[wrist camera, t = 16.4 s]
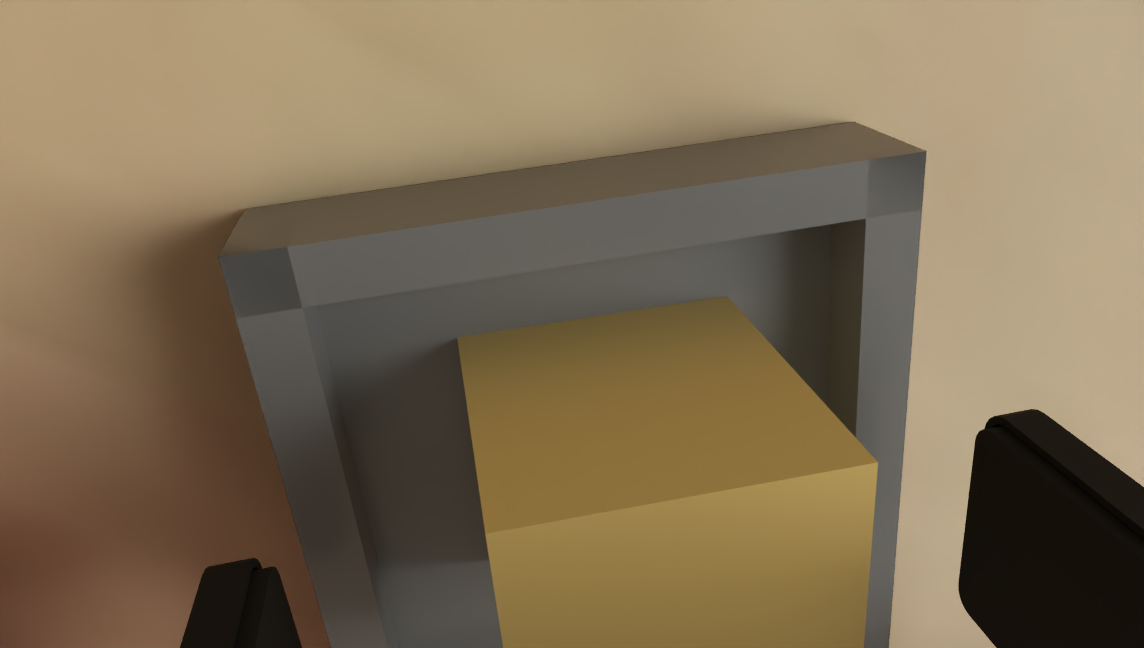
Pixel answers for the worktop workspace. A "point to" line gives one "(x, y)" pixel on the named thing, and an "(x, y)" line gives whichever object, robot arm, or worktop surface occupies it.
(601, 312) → the dish
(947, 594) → the worktop surface
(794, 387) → the block
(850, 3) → the worktop surface
